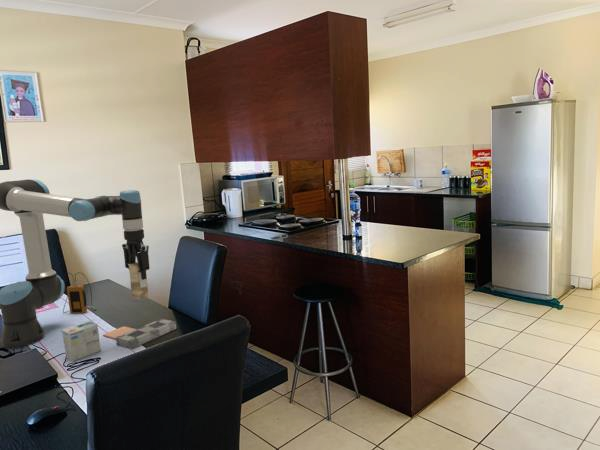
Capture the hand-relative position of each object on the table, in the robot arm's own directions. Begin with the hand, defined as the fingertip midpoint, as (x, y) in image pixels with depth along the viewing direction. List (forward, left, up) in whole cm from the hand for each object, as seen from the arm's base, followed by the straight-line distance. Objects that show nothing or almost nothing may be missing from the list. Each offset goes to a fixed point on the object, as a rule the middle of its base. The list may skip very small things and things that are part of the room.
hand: (139, 286), depth 184 cm
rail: (-2, -5, -20) cm, 21 cm away
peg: (0, 0, -5) cm, 5 cm away
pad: (-5, +8, -20) cm, 22 cm away
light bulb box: (-24, +4, -20) cm, 32 cm away
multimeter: (+6, +53, -20) cm, 57 cm away
